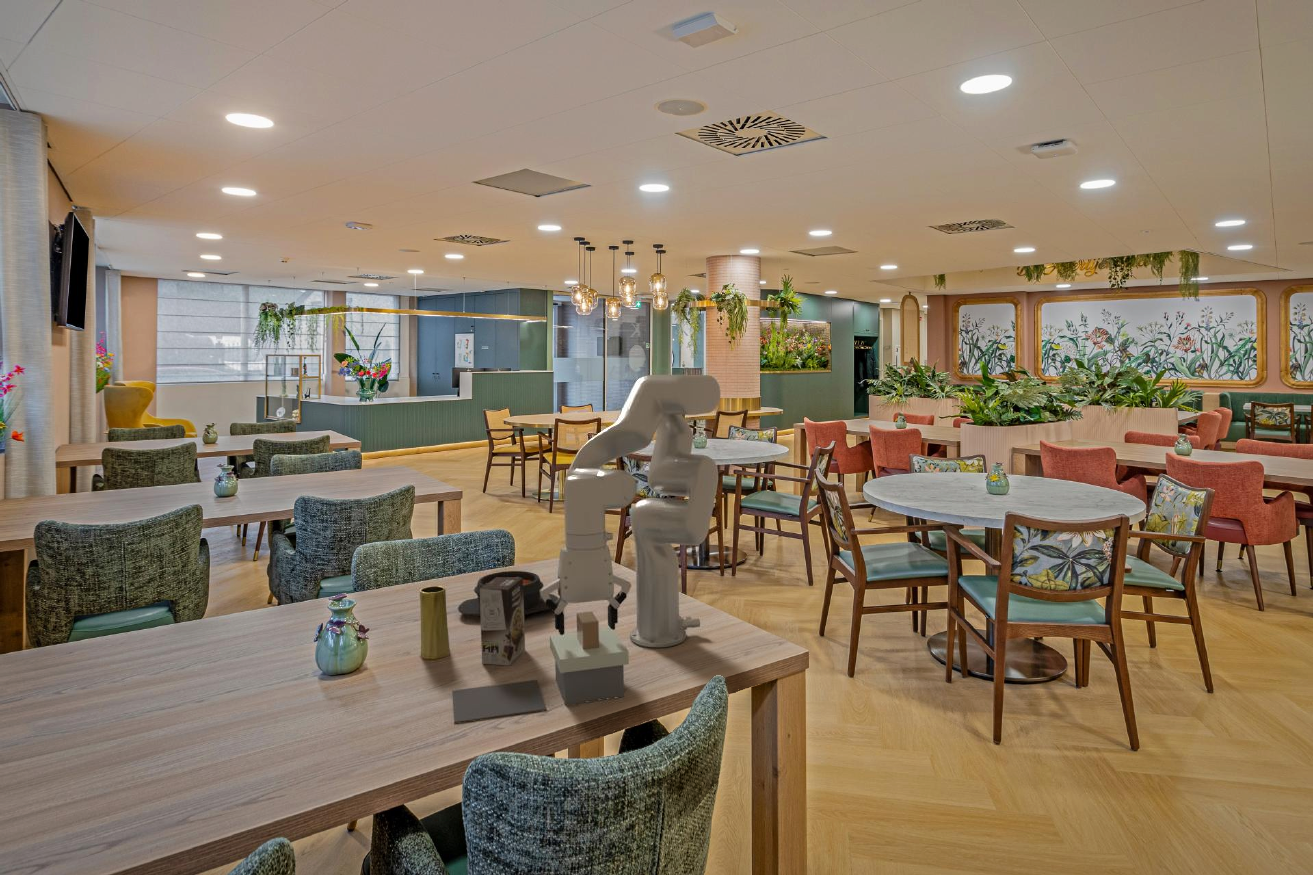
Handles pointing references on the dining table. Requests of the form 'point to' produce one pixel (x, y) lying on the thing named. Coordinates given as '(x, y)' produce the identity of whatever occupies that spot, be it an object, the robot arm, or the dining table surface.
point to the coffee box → (502, 620)
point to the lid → (588, 646)
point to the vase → (434, 623)
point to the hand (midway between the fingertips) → (586, 630)
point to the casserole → (530, 593)
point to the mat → (497, 701)
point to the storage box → (590, 684)
